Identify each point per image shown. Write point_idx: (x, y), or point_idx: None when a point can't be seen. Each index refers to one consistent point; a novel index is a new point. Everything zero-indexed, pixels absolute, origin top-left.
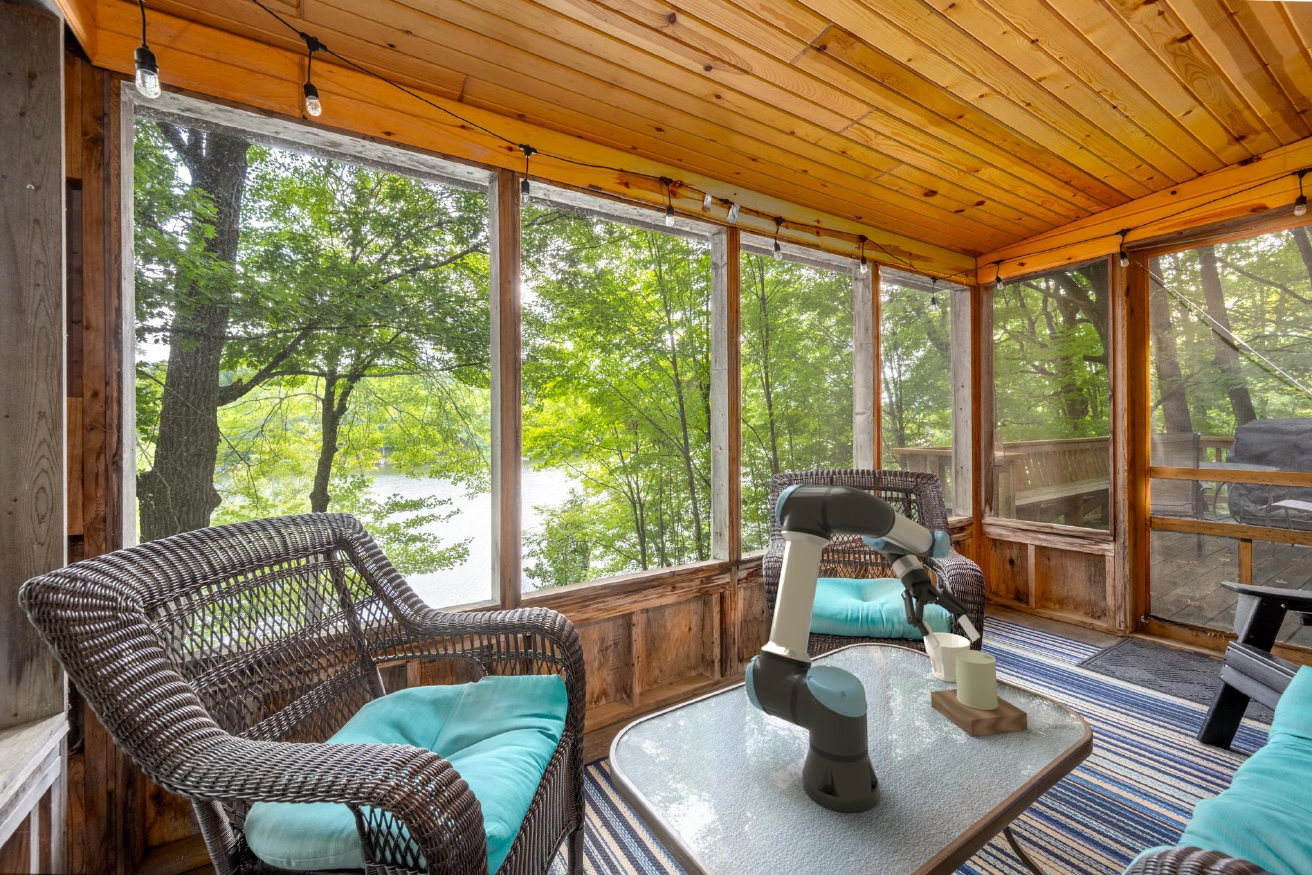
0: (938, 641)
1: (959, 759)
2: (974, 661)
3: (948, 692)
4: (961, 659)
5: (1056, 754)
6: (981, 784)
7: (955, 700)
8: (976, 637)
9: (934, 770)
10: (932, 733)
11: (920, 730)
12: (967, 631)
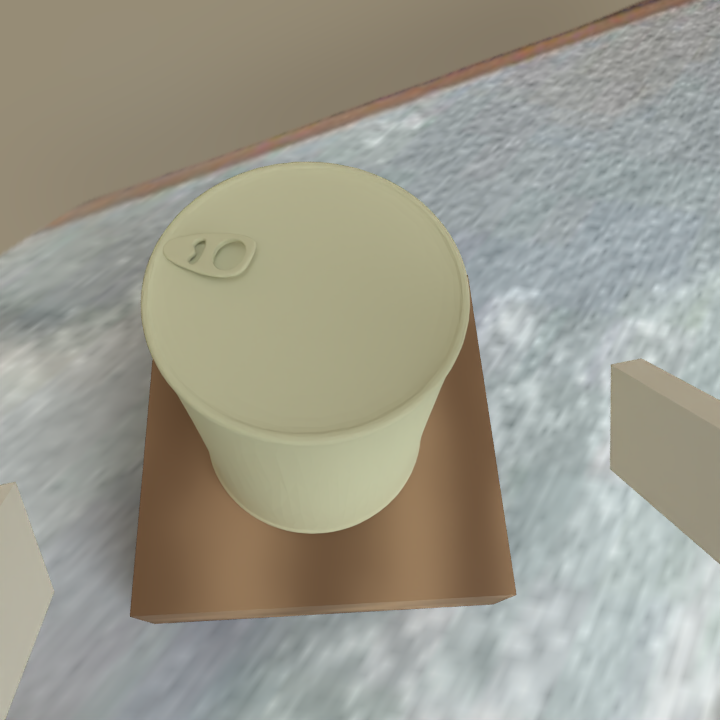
0: (634, 375)
1: (585, 204)
2: (379, 214)
3: (407, 566)
4: (461, 260)
5: (224, 174)
6: (582, 101)
7: (426, 461)
8: (21, 516)
9: (698, 171)
10: (607, 365)
11: None
12: (8, 662)
